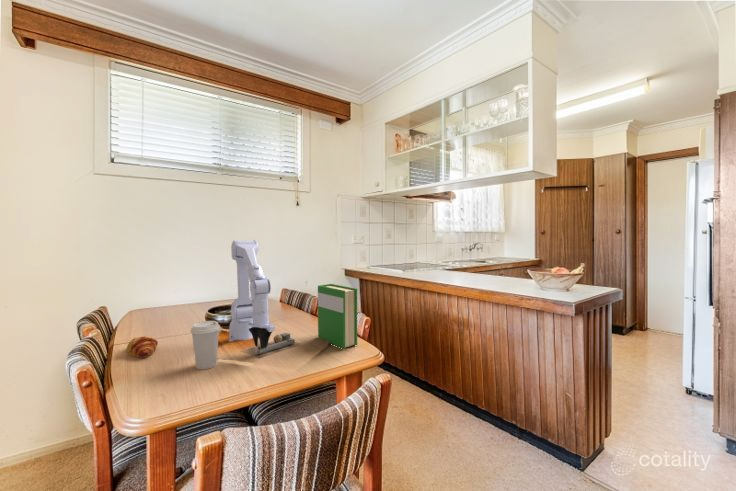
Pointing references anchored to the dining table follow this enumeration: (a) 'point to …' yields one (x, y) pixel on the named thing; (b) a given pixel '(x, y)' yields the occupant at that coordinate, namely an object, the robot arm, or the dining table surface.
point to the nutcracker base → (254, 350)
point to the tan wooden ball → (278, 338)
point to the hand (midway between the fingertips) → (261, 346)
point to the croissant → (142, 346)
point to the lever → (274, 345)
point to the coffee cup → (205, 343)
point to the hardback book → (337, 315)
